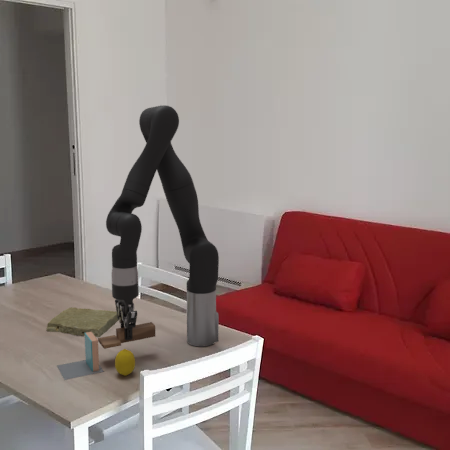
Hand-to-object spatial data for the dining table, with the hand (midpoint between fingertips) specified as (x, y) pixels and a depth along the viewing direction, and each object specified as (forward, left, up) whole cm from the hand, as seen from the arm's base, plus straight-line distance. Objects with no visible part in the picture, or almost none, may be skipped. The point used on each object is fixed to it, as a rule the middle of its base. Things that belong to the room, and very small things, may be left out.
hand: (126, 337), depth 169 cm
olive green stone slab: (+4, -34, -8) cm, 35 cm away
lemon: (+4, +10, -7) cm, 13 cm away
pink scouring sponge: (+10, 0, -7) cm, 12 cm away
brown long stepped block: (0, 0, -1) cm, 1 cm away
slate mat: (+14, 0, -7) cm, 16 cm away
